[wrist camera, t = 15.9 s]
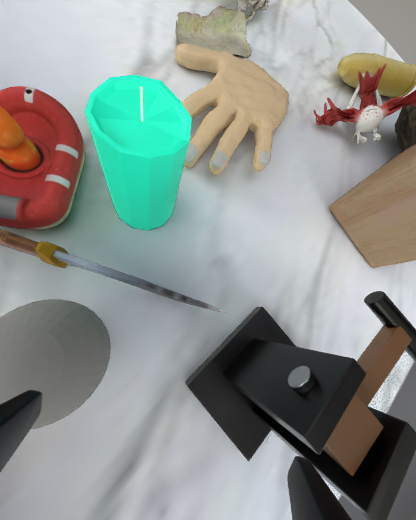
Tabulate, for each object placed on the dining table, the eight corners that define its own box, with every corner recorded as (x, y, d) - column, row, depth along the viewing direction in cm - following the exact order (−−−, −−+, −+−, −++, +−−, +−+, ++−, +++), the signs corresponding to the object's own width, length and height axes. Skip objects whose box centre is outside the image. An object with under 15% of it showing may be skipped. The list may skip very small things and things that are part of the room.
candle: (139, 241, 21) (129, 156, 10) (100, 195, 21) (46, 59, 10) (185, 210, 23) (219, 111, 12) (149, 168, 23) (151, 31, 12)
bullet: (384, 99, 41) (400, 64, 38) (410, 99, 37) (430, 60, 34) (322, 90, 38) (334, 51, 35) (343, 88, 34) (359, 44, 31)
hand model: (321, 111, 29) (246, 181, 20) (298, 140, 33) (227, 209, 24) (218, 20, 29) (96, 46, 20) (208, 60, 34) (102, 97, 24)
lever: (362, 291, 15) (398, 289, 12) (410, 348, 15) (456, 357, 12) (276, 394, 12) (302, 415, 10) (333, 463, 12) (373, 501, 10)
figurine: (426, 70, 31) (457, 16, 25) (432, 144, 29) (467, 106, 23) (311, 100, 37) (314, 62, 31) (311, 163, 35) (314, 137, 29)
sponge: (254, 58, 33) (238, 53, 35) (262, 9, 29) (243, 8, 31) (183, 59, 28) (170, 53, 30) (182, 2, 24) (167, 0, 27)
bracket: (257, 306, 23) (360, 297, 12) (306, 365, 22) (459, 413, 11) (185, 381, 19) (235, 472, 8) (242, 453, 19) (377, 646, 8)
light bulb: (36, 318, 17) (-95, 321, 8) (114, 297, 19) (83, 278, 10) (49, 396, 16) (-84, 503, 7) (130, 365, 18) (112, 416, 9)
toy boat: (95, 138, 23) (71, 56, 15) (70, 241, 19) (25, 198, 12) (10, 117, 21) (-61, 14, 14) (-33, 228, 18) (-156, 168, 10)
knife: (220, 306, 22) (241, 303, 17) (217, 320, 21) (236, 321, 16) (-56, 214, 17) (-131, 176, 13) (-68, 229, 17) (-150, 195, 12)
